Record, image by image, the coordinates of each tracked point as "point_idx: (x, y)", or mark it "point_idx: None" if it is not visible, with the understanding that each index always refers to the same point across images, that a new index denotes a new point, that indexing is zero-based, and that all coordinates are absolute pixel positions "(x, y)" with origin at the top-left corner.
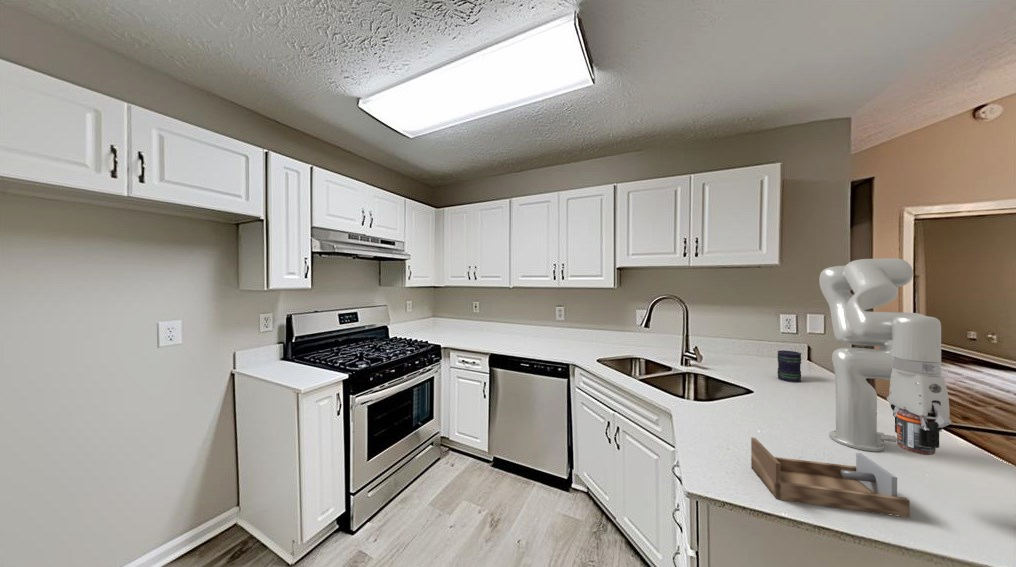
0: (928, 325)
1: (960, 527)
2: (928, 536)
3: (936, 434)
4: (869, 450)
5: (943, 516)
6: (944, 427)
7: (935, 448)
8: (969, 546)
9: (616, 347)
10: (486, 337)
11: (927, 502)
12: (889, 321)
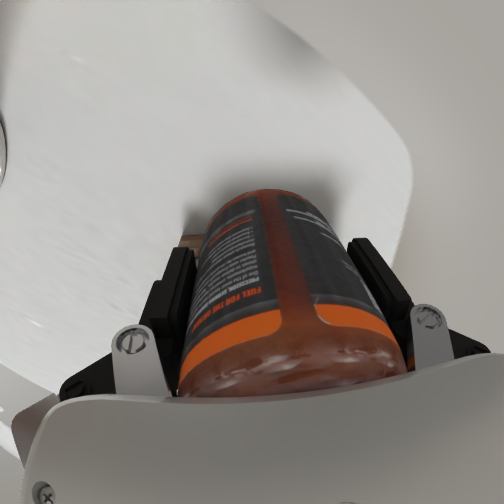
0: None
1: (336, 148)
2: (373, 234)
3: (411, 308)
4: (4, 142)
5: (299, 150)
6: (480, 344)
7: (312, 207)
8: (390, 186)
9: None
10: (13, 449)
11: (239, 140)
12: None
